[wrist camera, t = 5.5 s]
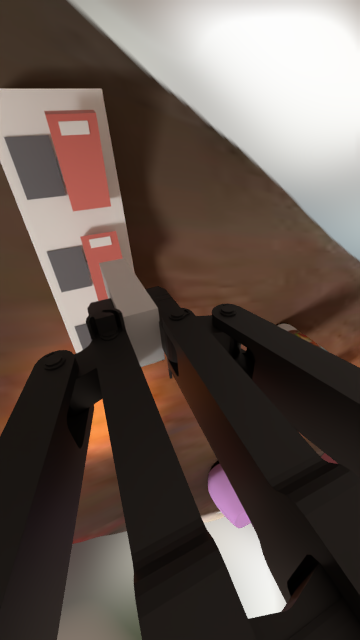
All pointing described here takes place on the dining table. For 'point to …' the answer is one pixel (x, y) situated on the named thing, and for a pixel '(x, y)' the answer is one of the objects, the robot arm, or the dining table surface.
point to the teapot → (226, 497)
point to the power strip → (58, 196)
